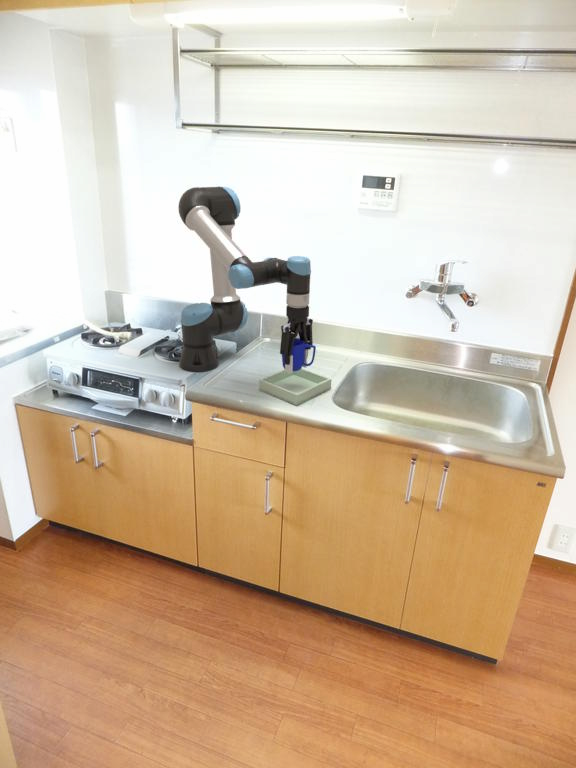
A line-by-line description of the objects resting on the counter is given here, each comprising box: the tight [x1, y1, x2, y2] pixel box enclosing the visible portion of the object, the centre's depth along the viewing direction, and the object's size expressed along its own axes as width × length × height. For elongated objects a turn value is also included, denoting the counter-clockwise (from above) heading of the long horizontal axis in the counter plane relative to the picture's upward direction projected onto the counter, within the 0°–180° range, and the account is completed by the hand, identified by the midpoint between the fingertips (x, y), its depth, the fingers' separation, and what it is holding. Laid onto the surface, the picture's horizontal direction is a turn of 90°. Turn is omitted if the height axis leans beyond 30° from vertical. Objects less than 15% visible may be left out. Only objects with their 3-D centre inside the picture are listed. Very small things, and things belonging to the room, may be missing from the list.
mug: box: [281, 337, 317, 371], centre depth 174 cm, size 8×12×10 cm
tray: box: [258, 367, 332, 407], centre depth 178 cm, size 18×19×4 cm
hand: (296, 369), depth 176 cm, fingers closed on mug, 7 cm apart
